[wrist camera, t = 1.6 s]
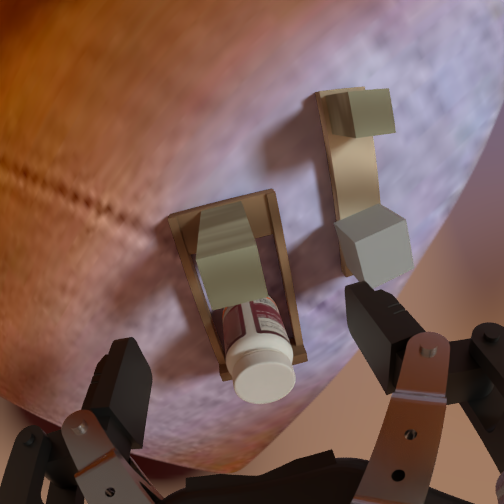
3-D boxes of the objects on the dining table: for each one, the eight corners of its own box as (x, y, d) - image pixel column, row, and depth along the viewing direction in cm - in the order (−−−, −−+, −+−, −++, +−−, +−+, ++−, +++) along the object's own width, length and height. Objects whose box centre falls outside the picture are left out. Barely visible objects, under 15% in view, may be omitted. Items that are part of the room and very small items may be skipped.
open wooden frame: (169, 214, 23) (146, 269, 14) (272, 188, 23) (306, 230, 14) (221, 363, 28) (227, 443, 20) (301, 344, 29) (329, 419, 20)
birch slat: (315, 92, 21) (341, 86, 16) (358, 87, 21) (392, 82, 16) (341, 271, 26) (365, 302, 22) (378, 261, 26) (407, 289, 22)
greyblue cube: (333, 222, 24) (354, 242, 20) (378, 203, 23) (405, 219, 20) (346, 266, 25) (367, 291, 21) (388, 247, 25) (413, 268, 21)
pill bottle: (232, 342, 28) (241, 414, 20) (213, 299, 26) (216, 371, 18) (284, 326, 28) (307, 395, 20) (270, 281, 26) (293, 348, 18)
